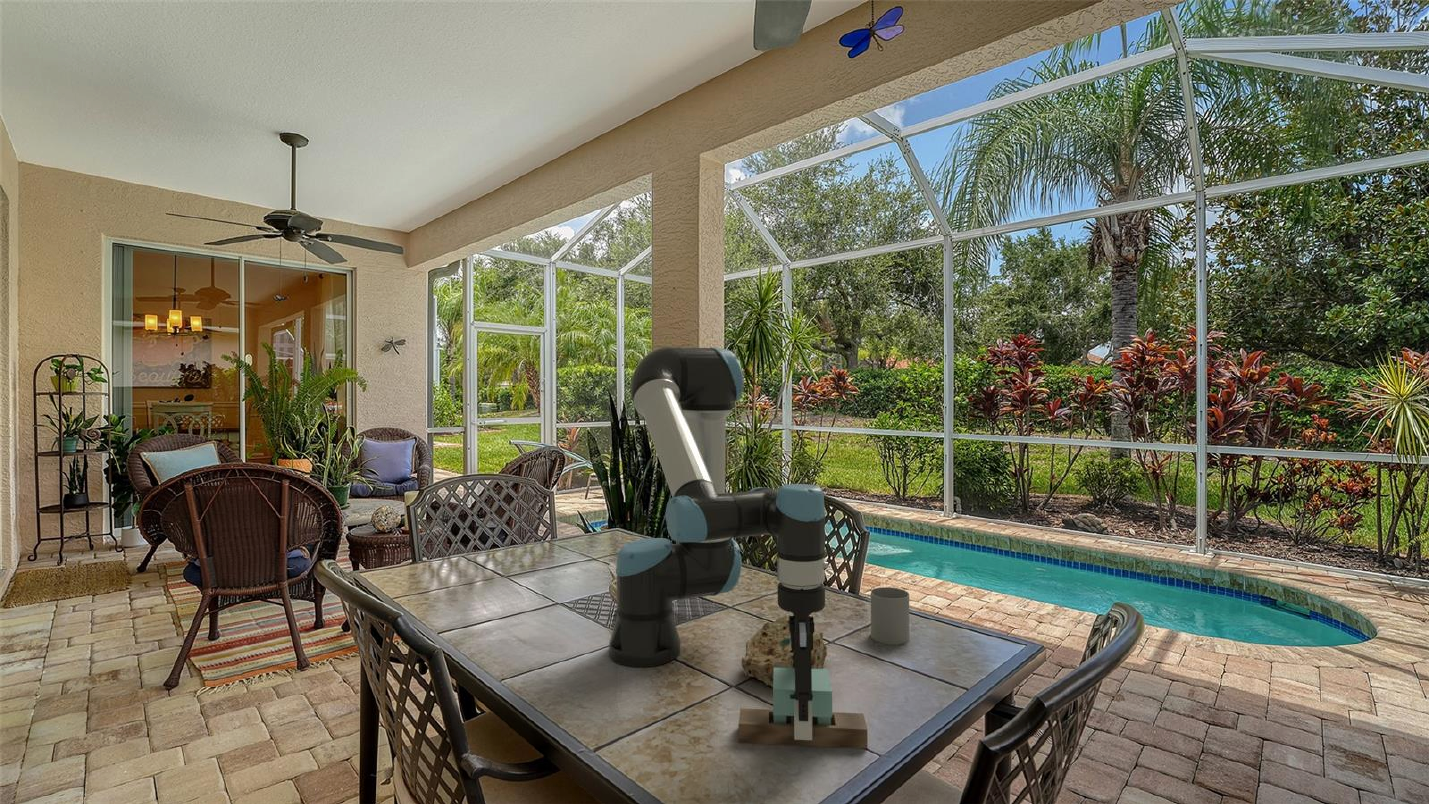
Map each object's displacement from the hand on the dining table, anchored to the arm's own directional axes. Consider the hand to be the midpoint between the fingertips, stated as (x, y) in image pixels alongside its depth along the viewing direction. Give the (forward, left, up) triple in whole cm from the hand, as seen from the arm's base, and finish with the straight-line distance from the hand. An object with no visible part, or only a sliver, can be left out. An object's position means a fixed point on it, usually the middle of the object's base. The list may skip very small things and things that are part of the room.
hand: (802, 724), depth 104 cm
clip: (0, 0, 0) cm, 0 cm away
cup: (+21, +44, -2) cm, 49 cm away
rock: (-2, +26, -3) cm, 26 cm away
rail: (0, 0, -2) cm, 2 cm away
